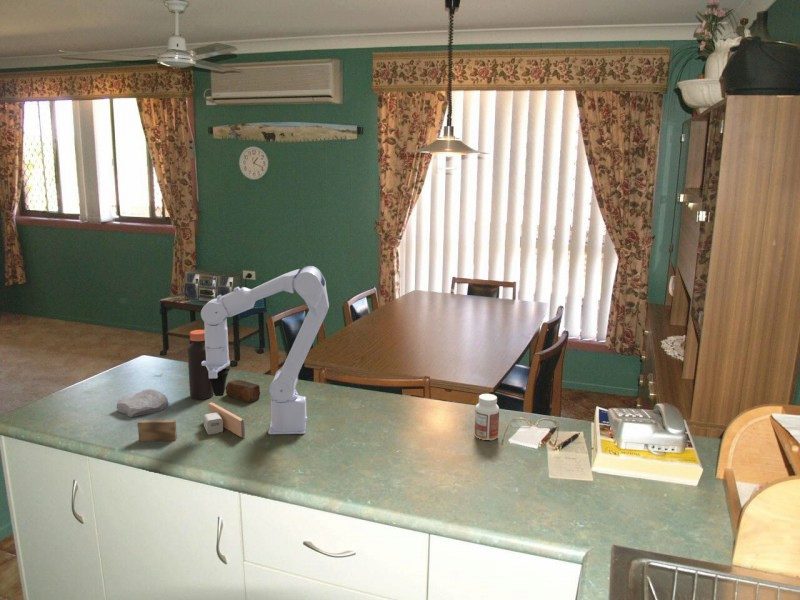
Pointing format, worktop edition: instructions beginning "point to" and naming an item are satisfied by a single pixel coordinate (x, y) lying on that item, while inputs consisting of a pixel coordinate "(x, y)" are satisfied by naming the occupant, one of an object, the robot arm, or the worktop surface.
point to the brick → (243, 390)
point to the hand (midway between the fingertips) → (219, 395)
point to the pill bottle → (487, 417)
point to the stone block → (143, 403)
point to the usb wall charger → (213, 423)
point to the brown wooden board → (157, 430)
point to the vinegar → (198, 367)
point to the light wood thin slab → (229, 420)
